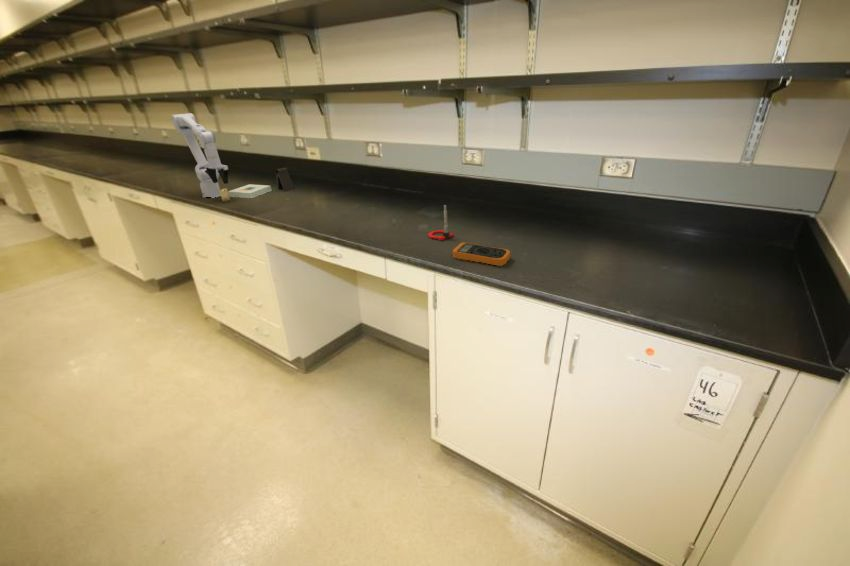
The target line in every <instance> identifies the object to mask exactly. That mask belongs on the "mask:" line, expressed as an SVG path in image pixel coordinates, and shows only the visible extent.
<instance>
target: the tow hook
mask: <svg viewBox="0 0 850 566" xmlns="http://www.w3.org/2000/svg"><path fill="white" fill-rule="evenodd" d="M443 223H444V225H443V229H438V230H436V229H435V230H433V231H430V232H428V234H427V235H428V238H430V239H432V238H433V240H438V241H439V240H440V242H441V240H442V241H445V240H444V239H446V240H449V239H450V238H453V237H455V234H454V232H450V231H449V225H448V211H447V205H446V204H445V205H444V204H443ZM435 233H436V234H442V235H435Z"/></svg>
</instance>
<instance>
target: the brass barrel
mask: <svg viewBox="0 0 850 566" xmlns="http://www.w3.org/2000/svg"><path fill="white" fill-rule="evenodd" d="M219 192H220V195H221V196H220V197H221V201H222V202H229V201H231V197H229V193H228V188H226V187H225V188H220V189H219ZM228 200H229V201H228Z"/></svg>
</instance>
